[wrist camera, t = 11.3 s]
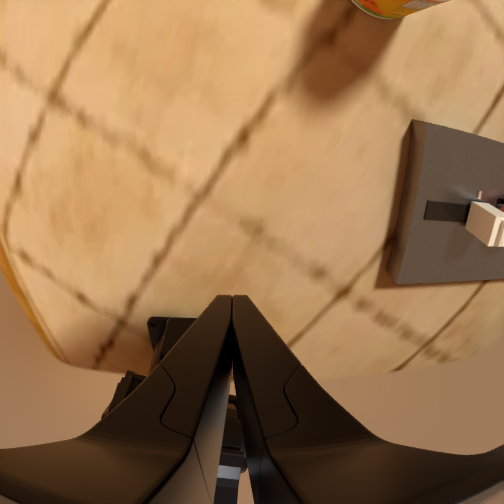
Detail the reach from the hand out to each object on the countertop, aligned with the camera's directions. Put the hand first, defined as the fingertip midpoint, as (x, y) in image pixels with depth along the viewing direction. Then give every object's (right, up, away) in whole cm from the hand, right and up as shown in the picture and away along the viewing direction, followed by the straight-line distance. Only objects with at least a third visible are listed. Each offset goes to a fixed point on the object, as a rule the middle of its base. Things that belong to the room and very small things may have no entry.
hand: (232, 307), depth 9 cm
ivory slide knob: (+18, +4, +11) cm, 21 cm away
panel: (+21, +5, +13) cm, 26 cm away
